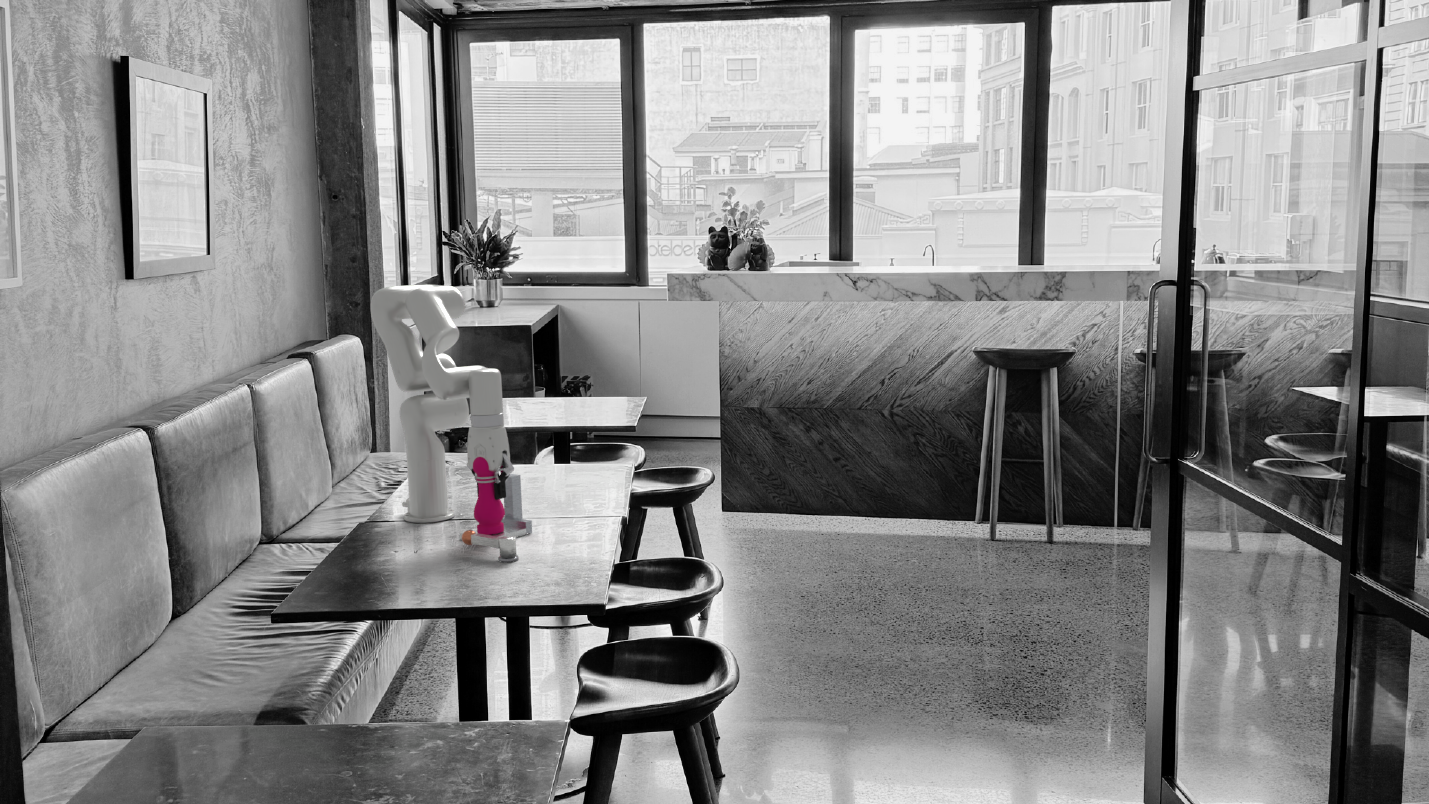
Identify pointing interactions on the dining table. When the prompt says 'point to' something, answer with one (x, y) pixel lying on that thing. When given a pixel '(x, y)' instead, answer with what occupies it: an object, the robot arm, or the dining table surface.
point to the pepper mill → (487, 500)
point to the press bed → (512, 514)
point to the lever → (492, 542)
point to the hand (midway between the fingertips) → (491, 496)
